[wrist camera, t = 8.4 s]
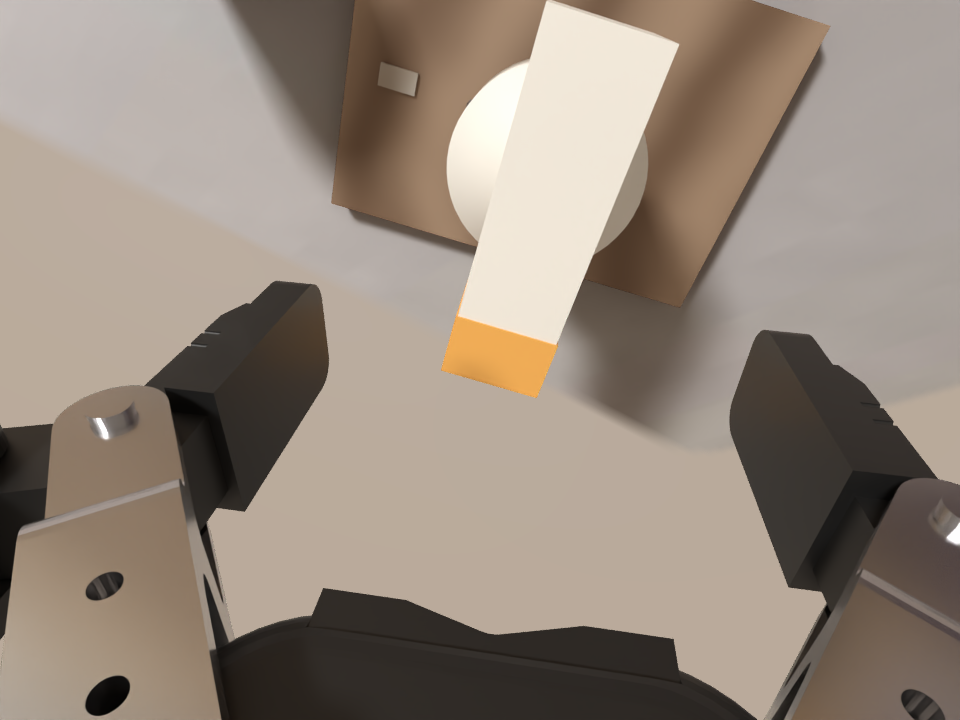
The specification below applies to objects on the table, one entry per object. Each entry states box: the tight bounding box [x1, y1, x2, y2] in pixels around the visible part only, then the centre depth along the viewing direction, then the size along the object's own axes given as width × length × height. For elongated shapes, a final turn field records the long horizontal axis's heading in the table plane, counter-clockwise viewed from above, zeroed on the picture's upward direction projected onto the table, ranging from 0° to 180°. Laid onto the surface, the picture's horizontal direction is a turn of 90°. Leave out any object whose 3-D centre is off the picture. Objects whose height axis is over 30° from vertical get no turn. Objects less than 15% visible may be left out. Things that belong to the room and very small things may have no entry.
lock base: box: [331, 0, 830, 308], centre depth 25 cm, size 20×14×8 cm
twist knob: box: [441, 0, 679, 398], centre depth 18 cm, size 10×7×9 cm
